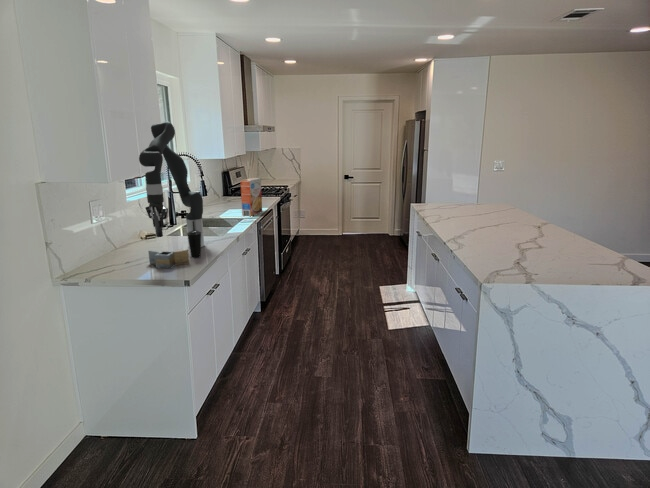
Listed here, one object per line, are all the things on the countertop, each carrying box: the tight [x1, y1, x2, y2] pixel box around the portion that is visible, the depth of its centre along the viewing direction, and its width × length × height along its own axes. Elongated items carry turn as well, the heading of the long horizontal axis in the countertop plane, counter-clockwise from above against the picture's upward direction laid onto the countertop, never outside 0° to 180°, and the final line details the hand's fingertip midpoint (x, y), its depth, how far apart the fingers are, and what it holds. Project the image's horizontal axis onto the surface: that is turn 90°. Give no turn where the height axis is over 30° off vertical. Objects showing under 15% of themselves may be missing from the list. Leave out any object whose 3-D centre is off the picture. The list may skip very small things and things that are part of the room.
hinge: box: [147, 249, 190, 270], centre depth 220 cm, size 11×20×7 cm, turn 84°
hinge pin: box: [153, 209, 164, 238], centre depth 213 cm, size 3×3×14 cm
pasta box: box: [240, 177, 263, 218], centre depth 361 cm, size 23×8×30 cm, turn 165°
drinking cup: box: [186, 221, 202, 259], centre depth 234 cm, size 8×8×20 cm
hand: (158, 226), depth 214 cm, fingers closed on hinge pin, 3 cm apart
